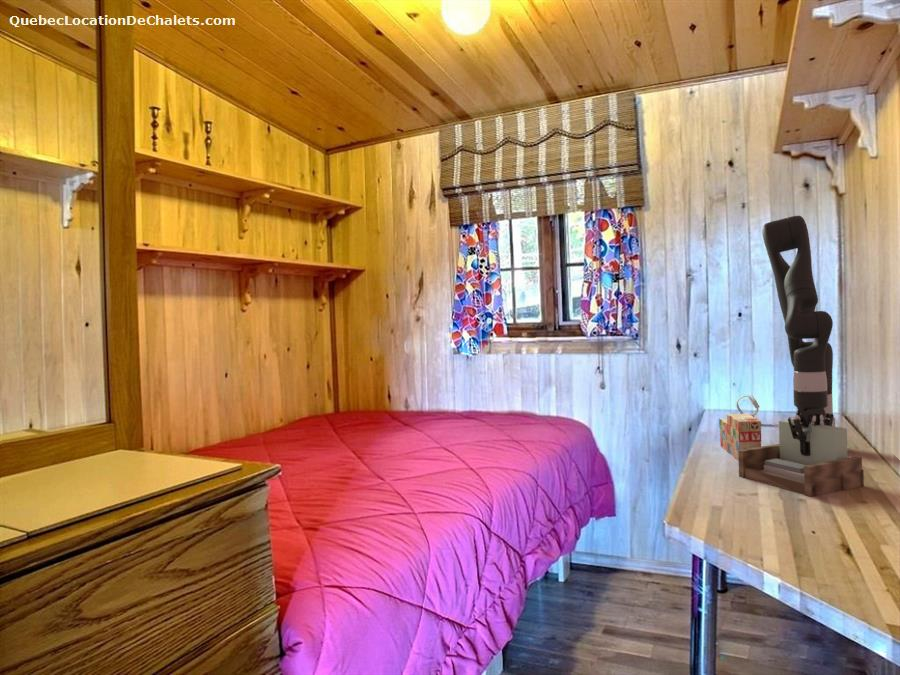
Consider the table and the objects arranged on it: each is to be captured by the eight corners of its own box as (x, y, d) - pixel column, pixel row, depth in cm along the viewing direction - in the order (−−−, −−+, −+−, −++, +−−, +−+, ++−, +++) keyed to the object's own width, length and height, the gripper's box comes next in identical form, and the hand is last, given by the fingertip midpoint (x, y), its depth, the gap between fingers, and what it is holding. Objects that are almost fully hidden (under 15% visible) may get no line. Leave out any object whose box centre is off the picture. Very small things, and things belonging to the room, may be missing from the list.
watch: (760, 425, 225) (759, 396, 224) (737, 425, 228) (736, 396, 228) (759, 423, 230) (758, 394, 229) (736, 422, 233) (735, 394, 233)
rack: (788, 467, 166) (787, 442, 166) (863, 485, 146) (863, 457, 146) (739, 476, 160) (738, 450, 160) (810, 496, 140) (809, 467, 140)
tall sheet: (791, 470, 163) (789, 419, 163) (848, 484, 148) (846, 428, 148) (780, 472, 162) (778, 421, 161) (836, 486, 147) (835, 430, 146)
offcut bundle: (773, 475, 160) (772, 457, 160) (825, 489, 146) (824, 469, 146) (758, 478, 158) (758, 459, 158) (810, 492, 144) (809, 472, 144)
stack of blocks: (719, 446, 195) (718, 409, 195) (740, 446, 194) (739, 408, 194) (739, 462, 174) (738, 420, 174) (762, 462, 173) (761, 420, 173)
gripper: (816, 385, 160) (818, 448, 161) (777, 389, 155) (779, 454, 156) (843, 387, 153) (845, 453, 154) (803, 392, 148) (805, 460, 149)
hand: (812, 454), depth 155 cm, fingers closed on tall sheet, 4 cm apart
